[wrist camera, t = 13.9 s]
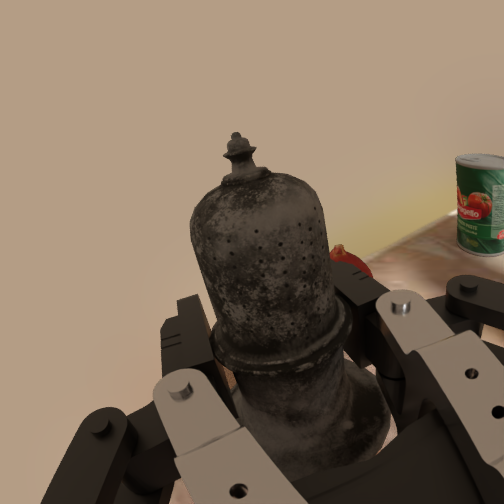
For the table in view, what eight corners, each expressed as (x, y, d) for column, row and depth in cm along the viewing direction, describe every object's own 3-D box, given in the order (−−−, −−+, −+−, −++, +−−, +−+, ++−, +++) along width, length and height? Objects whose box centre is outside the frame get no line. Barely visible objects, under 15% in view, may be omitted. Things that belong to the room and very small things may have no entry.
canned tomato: (515, 239, 32) (519, 158, 27) (498, 263, 29) (504, 170, 25) (469, 226, 38) (468, 151, 34) (446, 246, 36) (444, 161, 31)
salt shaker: (223, 438, 13) (110, 167, 8) (339, 390, 14) (300, 117, 9) (266, 546, 7) (47, 199, 3) (411, 475, 9) (452, 104, 4)
